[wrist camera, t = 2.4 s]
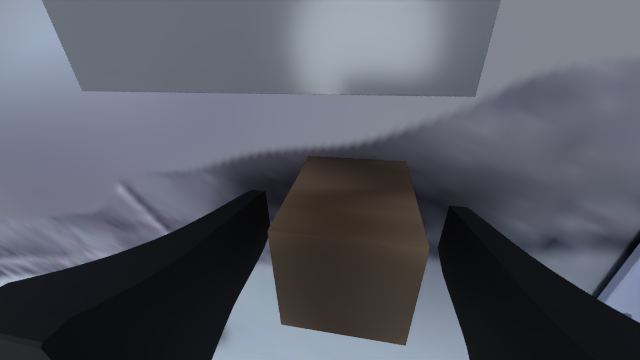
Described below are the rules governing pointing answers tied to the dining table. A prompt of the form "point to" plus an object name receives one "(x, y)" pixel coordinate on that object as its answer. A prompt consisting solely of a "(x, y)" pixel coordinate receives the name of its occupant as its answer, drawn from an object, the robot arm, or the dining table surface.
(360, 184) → the walnut block
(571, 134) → the dining table surface
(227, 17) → the slate coaster
